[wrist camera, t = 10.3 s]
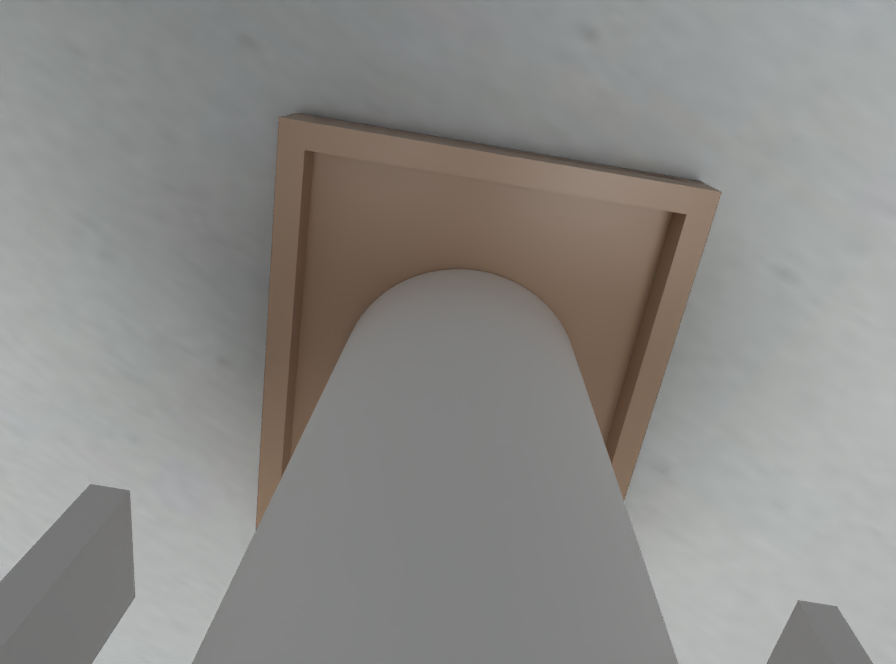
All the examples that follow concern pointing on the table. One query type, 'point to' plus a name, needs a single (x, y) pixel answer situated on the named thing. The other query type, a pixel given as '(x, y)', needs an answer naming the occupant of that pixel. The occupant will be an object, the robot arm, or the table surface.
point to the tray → (473, 261)
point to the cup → (446, 502)
